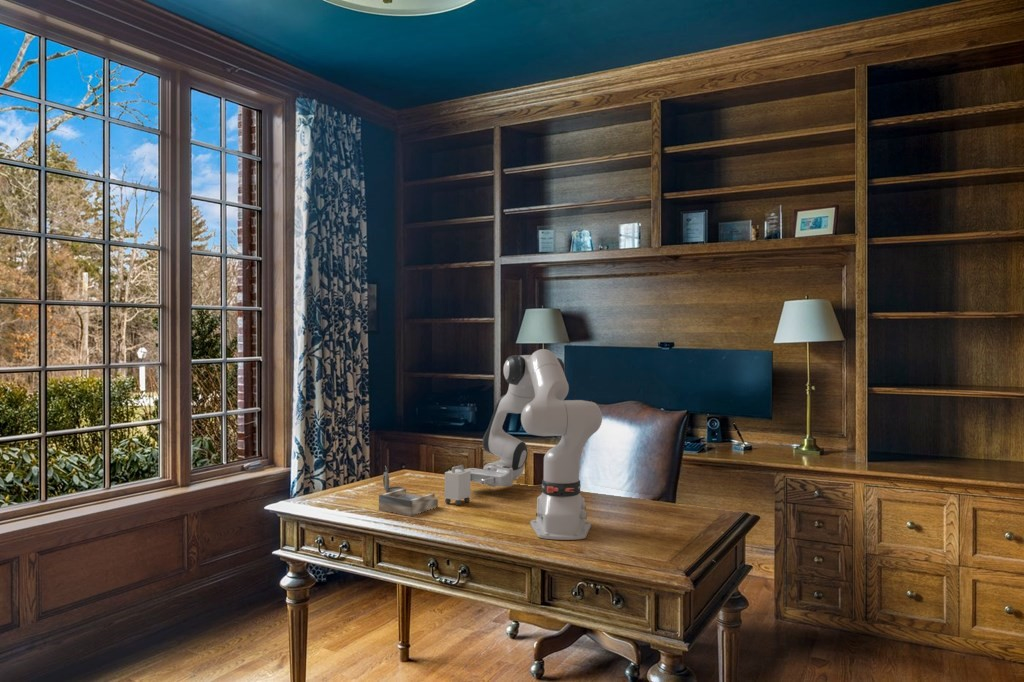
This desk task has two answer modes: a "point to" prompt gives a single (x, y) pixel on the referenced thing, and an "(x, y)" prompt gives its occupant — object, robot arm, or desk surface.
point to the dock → (406, 502)
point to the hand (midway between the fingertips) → (472, 480)
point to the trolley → (457, 485)
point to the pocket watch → (386, 483)
